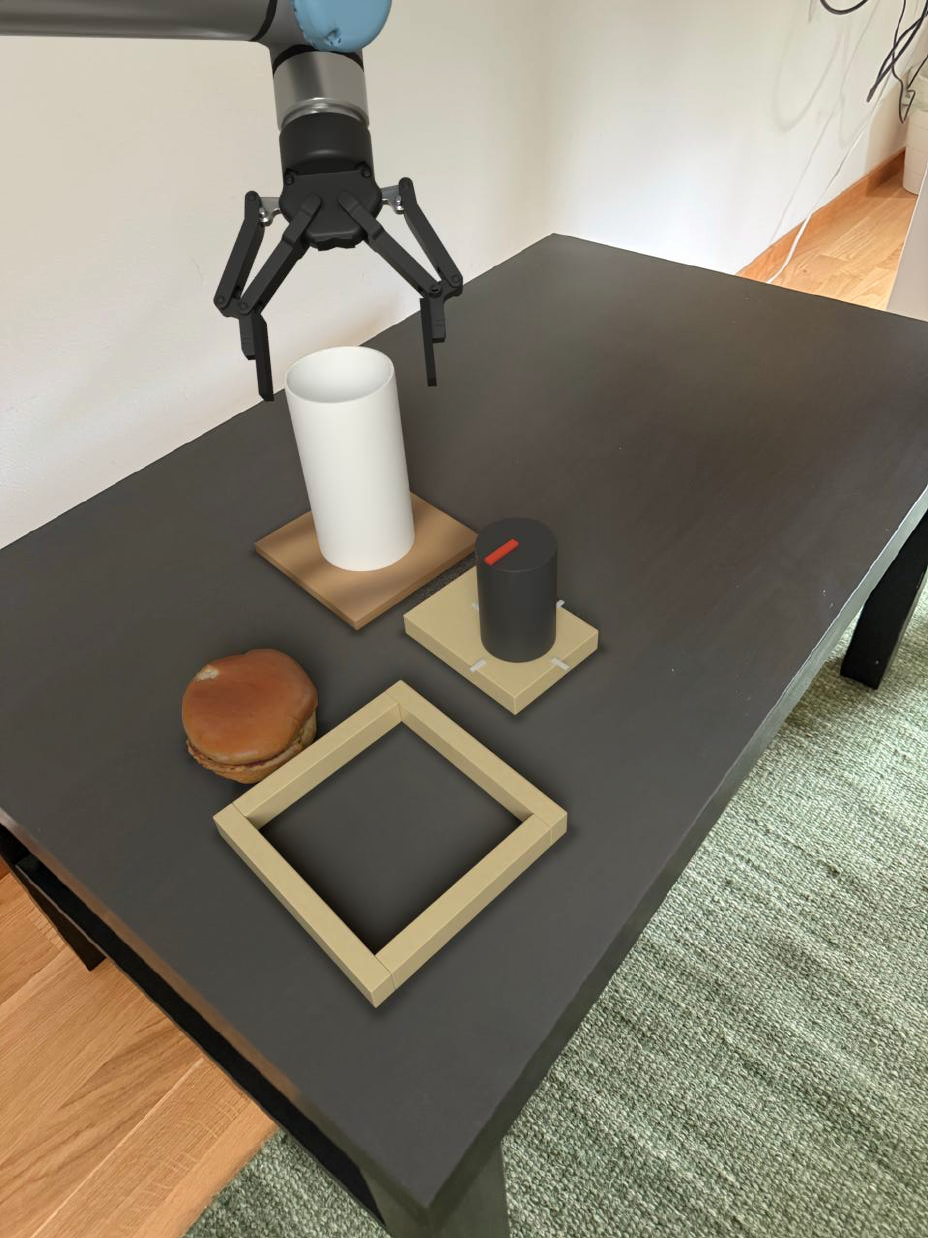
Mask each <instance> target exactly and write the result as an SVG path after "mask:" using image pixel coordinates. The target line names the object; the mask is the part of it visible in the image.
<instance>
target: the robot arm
mask: <svg viewBox="0 0 928 1238" xmlns="http://www.w3.org/2000/svg"><path fill="white" fill-rule="evenodd" d="M392 5H393V0H0V37H31V38H32V37H33V38H34V37H36V38H39V37H40V38H79V39H81V38H85V39H128V40H131V39H133V40H135V39H136V40H137V39H138V40H177V41H178V40H181V41H182V40H185V41H225V42H226V41H227V42H228V41H229V42H230V41H232V42H237V41H238V42H248V43H258V44H260V45H262V46H264V47H266V48H267V49H268V51H269V60H270V65H271V74H272V85H273V94H274V95H273V97H274V105H275V116H276V125H277V129H278V131H279V132H280V133H279V136H278V145H279V146H278V147H279V155H280V164H281V165H280V166H281V176H282V190H281V192H280V195H279V196H260V194H259V192H257V191H256V190H249V191H247V192H246V193H245V195H244V207H243V209H244V211H243V213H244V214H243V215H244V216H243V220H242V223H241V226H240V228H239V231H238V232H237V236H236V238H235V241H234V244H233V247H232V249H231V252H230V254H229V257H228V260H227V261H226V265H225V267H224V270H223V272H222V275H221V277H220V280H219V283H218V285H217V288H216V291H215V293H214V295H213V299H212V302H213V304H214V306H215V307H216V309H217V310H218V312H219V313H220V314H221V315H222V317H224V318H227V319H228V318H233V319H236V320H238V328H239V338H240V350H241V352H242V353H243V356H244V357H245V358H246V359H247V361H255V369H256V381H257V391H258V396H260V398H261V399H262V400H263V401H264V402H265V403H270V402H275V392H274V381H273V372H272V363H271V353H270V341H269V330H268V323H267V321H266V320H265V318H264V316H263V315H262V314H263V313H262V312H263V311H264V310H265V308H266V307H267V305H269V303H270V302H271V300H272V298H273V297H274V295H275V294H276V293H277V291H278V290H279V288H280V287H281V286H282V284H283V282H284V281H285V280H286V278H287V277H288V275H289V274H290V273H291V271H292V270H293V268H294V267H295V265H296V264H297V262H299V260H301V259H303V257H304V256H305V255H306V253H307V252H308V250H309V249H310V248H312V249H315V250H317V251H318V252H327V251H330V250H333V249H336V248H338V249H345V250H350V249H351V250H352V249H356V246H358V245H360V244H361V243H362V242H364V243H365V244H366V245H367V246H368V247H369V248H370V249H371V250H372V251H373V252H374V253H375V254H378V255H379V256H380V257H381V259H383V260H384V261H385V262H386V263H387V264H388V265H389V266H390V267H391V268H392V269H393V270H394V271H395V272H396V273H397V274H398V275H399V276H400V277H401V278H403V280H405V282H406V283H408V285H410V286H411V288H412V289H414V290H415V291H416V292H417V293H418V295H420V296H421V297H419V300H418V301H419V307H420V308H419V309H420V321H421V329H422V332H421V333H422V340H423V341H422V342H423V351H424V363H425V373H426V383H427V387H428V388H430V387H437V386H438V383H437V372H436V371H437V370H436V360H435V351H434V344H443V343H445V341H446V338H447V327H446V318H445V317H446V316H445V306H444V305H445V303H446V302H447V301H448V300H449V299H452V298H455V297H461V295H462V294H463V292H464V276H463V274H462V273H461V271H460V269H459V268H458V266H457V264H456V263H455V261H454V260H453V258H452V256H451V255H450V253H449V251H448V250H447V248H446V247H445V245H444V243H443V242H442V241H441V239H440V237H439V235H438V234H437V231H435V229H434V227H433V226H432V224H431V222H430V221H429V219H428V218H427V215H425V213H424V211H423V210H422V208H421V207H420V205H419V204H418V200H417V195H416V191H415V186H414V182H413V180H412V179H411V178H410V177H408V176H403V177H401V178H400V179H399V181H398V183H397V184H395V185H390V186H386V187H381V186H379V184H378V182H377V181H376V173H375V165H374V164H375V163H374V154H373V144H372V143H373V142H372V134H371V131H370V130H369V127H370V112H369V101H368V92H367V80H366V74H365V66H364V54H363V49H364V48H366V47H367V46H369V45H370V44H371V43H373V41H375V40H376V39H377V37H378V36H379V35H380V34H381V33H382V30H383V29H384V27H385V26H386V23H387V21H388V18H389V16H390V12H391V9H392ZM384 206H389V207H390V208H391V209H392V211H393V213H394V214H396V215H400V216H401V215H403V218H404V222H405V223H406V225H407V227H408V229H409V231H410V232H411V234H412V235H413V237H414V239H415V240H416V242H417V244H418V245H419V246H420V248H421V250H422V252H423V253H424V255H425V256H426V258H427V259H428V261H429V263H430V264H431V266H432V267H433V270H434V271H435V272H436V275H438V277H439V279H440V280H437V279H435V277H434V276H433V275H432V274H430V272H428V271H427V269H426V268H424V267H423V266H422V264H421V263H419V261H417V260H416V258H414V256H413V255H412V254H410V252H409V251H407V250H406V249H405V248H404V247H403V246H402V245H401V243H399V242H398V241H397V240H396V239H395V238H394V237H392V235H391V234H390V233H389V232H388V231H387V230H386V229H385V228H384V226H383V225H382V223H381V222H380V221H378V219H377V218H378V217H379V215H380V213H381V211H382V209H383V207H384ZM278 215H281V216H282V217H283V218H284V220H285V221H286V222H287V224H288V225H287V226H286V228H285V229H284V231H283V233H282V235H281V238H280V240H279V242H278V243H277V245H276V247H275V248H274V249H273V251H272V252H271V253H270V255H269V256H268V258H267V260H266V261H265V262H264V264H263V265H262V267H261V268H260V269H259V270H258V272H257V273H256V275H255V276H254V278H253V279H252V281H251V282H250V284H249V285H248V287H246V285H247V282H248V279H249V277H250V274H251V272H252V269H253V267H254V264H255V261H256V259H257V256H258V254H259V250H260V249H261V245H262V243H263V240H264V237H265V232H266V228H267V227H268V228H269V227H270V226H271V225H272V224H273V223H274V219H275V217H276V216H278ZM245 287H246V289H245ZM244 290H245V291H244Z"/></svg>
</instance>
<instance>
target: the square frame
mask: <svg viewBox="0 0 928 1238" xmlns="http://www.w3.org/2000/svg"><path fill="white" fill-rule="evenodd" d="M400 723H403V724H404V725H405V726H407V727H408V728H409V729H410V730H412V731H413V732H414V733H415V734H417V736H419V737H420V738H421V739H422V740H424V741H425V742H426V743H427V744H429V745H430V747H432V748H433V749H435V751H437V752H438V753H439V754H440V755H442V757H444V758H445V759H446V760H448V761H449V762H450V763H451V764H452V765H453V766H455V767H456V768H457V769H458V770H460V771H461V772H462V773H463V774H465V776H466V777H468V779H470V780H472V781H473V782H474V783H475V784H476V785H477V786H479V787H480V788H481V789H482V790H483V791H485V792H486V793H487V794H488V795H489V796H491V798H493V799H495V801H496V802H498V803H499V804H500V805H502V807H504V808H505V809H506V810H508V811H509V812H510V813H511V814H512V815H513V816H514V817H516V818H517V819H518V820H519V821H521V822H522V823H520V825H519V826H518V827H517V828H516V829H515V830H513V831H512V832H511V833H510V834H509V835H508V836H507V837H506V838H505V839H503V840H502V841H501V842H500V843H499V844H497V845H496V846H495V847H494V848H493V849H492V850H491V851H490V852H489V853H488V854H486V855H485V856H484V857H483V858H482V859H481V860H480V861H478V863H476V864H475V865H474V866H473V867H472V868H471V869H470V870H469V871H467V873H465V874H464V875H463V876H462V877H460V879H458V880H457V881H456V882H455V883H454V884H452V886H451V887H449V888H448V889H447V890H446V891H445V892H444V893H443V894H441V896H440V897H438V898H437V899H436V900H435V901H434V902H432V904H430V906H428V907H427V908H426V909H424V911H423V912H421V914H419V915H418V916H417V917H416V918H414V920H413V921H412V922H410V923H409V924H408V925H407V926H405V927H404V929H402V930H401V931H400V932H399V933H398V934H396V936H395V937H393V938H392V939H391V940H390V941H389V942H388V943H387V944H386V945H385V946H383V947H382V948H381V949H380V950H378V952H377V953H376V954H374V953H373V952H372V951H371V950H370V949H369V948H368V947H367V946H366V945H365V944H364V942H362V940H360V938H359V937H358V936H357V935H356V934H355V933H354V932H353V931H352V930H351V929H350V928H349V926H347V924H346V923H345V922H344V921H343V920H342V919H341V918H340V917H339V915H337V913H336V912H335V911H333V909H332V908H331V907H330V906H329V905H328V904H327V903H326V902H325V901H324V900H323V899H322V898H321V896H319V894H317V892H316V891H315V890H314V889H313V888H312V887H311V886H310V884H308V882H306V880H305V879H303V877H302V876H301V875H300V874H299V873H298V872H297V871H296V870H295V869H294V868H293V866H291V864H290V863H289V862H288V861H287V860H286V858H284V857H283V856H282V854H281V853H279V851H278V850H277V849H276V848H275V847H274V846H273V845H272V844H271V843H270V842H269V841H268V840H267V839H266V838H265V837H264V836H263V834H261V833H260V831H259V830H260V829H261V828H262V827H264V826H265V825H266V824H268V823H269V822H271V821H272V820H273V819H274V818H276V817H277V816H279V815H280V814H281V813H283V812H284V811H285V810H286V809H288V808H289V807H290V806H291V805H294V803H296V802H297V801H298V800H299V799H301V798H302V797H303V796H305V795H306V794H308V793H309V792H310V791H311V790H313V789H314V788H315V787H317V786H318V785H320V784H322V782H323V781H325V780H326V779H327V778H329V777H330V776H332V775H333V774H334V773H335V772H336V771H338V770H339V769H341V768H342V767H344V766H345V765H346V764H347V763H348V762H350V761H351V760H352V759H354V758H355V757H357V756H358V755H359V754H360V753H363V751H364V750H366V749H367V748H368V747H369V746H371V745H372V744H374V743H376V741H378V740H380V738H382V737H383V736H384V735H386V734H387V733H388V732H390V731H391V730H392V729H394V728H395V727H397V726H398V725H399V724H400ZM212 819H213V822H214V824H215V825H216V828H217V830H218V833H219V835H220V836H221V837H222V838H223V839H224V841H225V842H226V843H227V844H228V845H229V846H230V847H231V848H232V850H233V851H234V852H235V853H236V854H237V855H238V856H239V857H240V858H241V859H242V861H243V863H245V864H246V865H247V866H248V867H249V869H250V870H251V871H252V872H253V873H254V874H255V876H256V877H258V879H259V880H260V881H261V882H262V883H263V884H264V885H265V887H266V888H267V889H268V890H269V891H270V892H271V893H272V894H273V895H274V897H275V898H276V899H277V900H278V901H279V902H280V904H282V906H283V907H284V908H285V909H286V910H287V911H288V912H289V913H290V915H292V917H293V918H294V919H295V920H296V921H297V922H298V924H300V926H301V927H302V928H303V929H304V930H305V931H306V932H307V934H309V936H310V937H311V938H312V939H313V940H314V941H315V942H316V943H317V944H318V946H319V947H320V948H321V949H322V950H323V952H324V953H325V954H327V956H328V957H329V958H330V959H331V961H332V962H333V963H334V964H335V965H336V966H337V967H338V968H339V969H340V970H341V971H342V972H343V973H344V975H345V976H346V977H347V978H348V979H349V981H351V983H352V984H353V985H354V986H355V987H356V988H357V989H358V990H359V992H361V994H362V995H363V996H364V997H365V998H366V999H367V1001H369V1003H370V1004H371V1005H372V1006H373V1007H374V1008H378V1007H379V1006H380V1005H381V1004H382V1003H384V1001H385V1000H386V999H388V997H390V996H391V994H393V993H394V992H395V991H396V990H398V989H399V988H400V987H401V985H403V984H404V983H405V982H406V981H407V980H409V978H411V976H412V975H414V974H415V973H416V972H417V971H418V970H419V969H420V968H421V967H422V966H423V965H424V964H426V963H427V961H429V960H430V959H431V958H432V957H433V956H434V955H435V954H437V953H438V951H440V950H441V949H442V948H443V947H444V946H445V945H446V944H447V943H448V942H449V941H450V940H451V939H452V938H454V936H456V935H457V934H458V933H459V932H460V931H461V930H462V929H463V928H464V927H465V926H466V925H468V923H470V922H471V921H472V920H473V919H474V918H475V917H476V916H477V915H478V914H480V913H481V911H483V910H484V909H485V908H486V907H487V906H488V905H489V904H490V903H491V902H492V901H494V900H495V899H496V898H497V897H498V896H499V895H500V894H501V893H503V891H504V890H506V888H507V887H509V885H511V884H512V883H513V882H514V881H515V880H516V879H518V877H519V876H520V875H522V873H524V872H525V871H526V870H527V869H528V868H529V867H530V866H532V864H534V862H535V861H536V860H538V859H539V858H540V857H541V856H542V855H543V854H544V853H545V852H546V851H548V849H550V847H551V846H553V845H554V844H556V842H557V841H558V840H559V839H560V838H561V837H563V836H564V835H565V833H567V832H568V830H567V829H568V812H567V811H566V810H565V809H564V808H563V807H561V806H560V805H559V804H557V803H556V802H554V800H552V799H551V798H550V797H548V796H547V795H546V794H545V793H544V792H542V791H541V790H539V788H537V787H536V786H535V785H534V784H532V783H531V782H530V781H528V780H527V779H526V778H525V777H523V776H522V775H521V774H520V773H519V772H517V771H516V770H514V768H512V767H511V766H510V765H508V764H507V763H506V762H505V761H503V760H502V759H501V758H500V757H499V756H497V755H496V754H495V753H494V752H492V751H491V750H489V749H488V748H487V747H486V746H485V745H483V744H482V743H481V742H480V741H479V740H478V739H476V738H475V737H473V736H472V735H471V734H469V733H468V732H467V731H466V730H464V729H463V728H462V727H461V726H460V725H459V724H457V723H456V722H455V721H453V720H452V719H451V718H450V717H448V716H447V715H445V713H443V712H442V711H441V710H440V709H438V708H437V707H436V706H435V705H434V704H432V703H431V702H430V701H428V700H427V699H426V698H424V697H423V696H422V695H421V694H419V692H417V691H416V690H415V689H413V688H412V687H411V686H410V685H408V684H407V683H406V682H405V681H403V680H402V679H400V680H398V681H397V682H395V683H394V684H393V685H392V686H390V687H388V688H387V689H386V690H385V691H383V692H381V693H380V694H379V695H378V696H376V697H375V698H374V699H372V700H371V701H370V702H368V703H367V704H365V705H364V706H363V707H362V708H360V709H358V710H357V711H356V712H355V713H353V714H351V715H350V716H349V717H347V718H346V719H345V720H343V721H342V722H341V723H339V724H338V725H337V726H335V727H334V728H332V729H331V730H330V731H329V732H327V733H326V734H324V735H322V737H320V738H319V739H317V740H316V741H315V742H312V744H311V745H310V746H309V747H308V748H306V749H305V750H304V751H302V752H301V753H300V754H298V755H297V756H295V757H294V758H293V759H291V760H290V761H289V762H287V763H286V764H284V765H283V766H282V767H280V768H279V769H278V770H276V771H275V772H273V773H272V774H271V775H269V776H268V777H267V778H265V779H264V780H262V781H259V782H257V784H255V785H254V786H253V787H251V788H250V789H249V790H247V791H246V792H245V793H243V794H242V795H240V796H239V797H238V798H236V799H235V800H234V801H232V803H229V804H228V805H226V807H224V808H222V809H221V810H220V811H218V812H217V813H216V814H214V815H213V816H212Z"/></svg>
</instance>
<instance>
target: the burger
mask: <svg viewBox="0 0 928 1238" xmlns="http://www.w3.org/2000/svg"><path fill="white" fill-rule="evenodd" d="M318 704H319V697H318V690H317V688H316V686H315V684H314V683H313V680H311V678H310V676H309V675H308V674H307V672H306V671H305V670H304V668H303V667H302V666H301V665H300V664H299V663H298V662H297V661H296V659H293V658H292V657H291V656H290V655H288V654H286V653H284V652H282V651H279V650H276V649H273V648H257V649H251V650H248V651H247V652H246V653H242V654H241V653H240V654H233V655H232V654H231V655H228V656H225V657H220V658H217V659H215V660H212V661H211V662H209V663H207V664H206V665H205V666H203V667H202V668H201V670H200V671H199V672H197V673H196V674H195V676H194V677H193V678H192V679H191V681H189V683H188V685H187V687H186V690H185V691H184V694H183V696H182V701H181V721H182V726H183V729H184V732H185V734H186V736H187V739H186V742H185V743H186V745H187V752H188V753H189V754H190V755H191V756H192V757H193V758H194V759H195V760H196V761H197V764H201V765H202V767H203V768H206V769H207V770H210V771H212V772H213V773H214V774H215V775H218V776H221V777H223V778H225V779H228V780H234V781H237V782H238V783H240V784H255V783H260V782H261V781H262V780H264V779H265V778H267V777H268V776H269V775H271V774H272V773H273V772H275V771H276V770H278V769H279V768H280V767H282V766H283V765H284V764H286V763H287V762H289V761H290V760H291V759H293V758H294V757H295V756H297V755H298V754H300V753H301V752H302V751H304V750H305V749H306V748H308V747H309V746H311V745H312V744H313V743H314V740H315V738H316V735H317V710H316V708H318V707H317V706H318Z"/></svg>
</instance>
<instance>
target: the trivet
mask: <svg viewBox="0 0 928 1238" xmlns="http://www.w3.org/2000/svg"><path fill="white" fill-rule="evenodd" d="M410 498H411V506H412V514H413V522H414V530H415V540H414V544H413V546H412V548H411V549H410V551H409V552H408V553H407V554H406V555H405V556H404V557H403V558H402V559H400V560H399V561H397V562H395V563H394V564H392V565H389V566H387V567H384V568H381V569H377V570H372V571H350V570H345V569H342V568H339V567H336V566H334V565H333V564H331V563H330V562H328V561H327V560H326V559H325V558H324V556H323V555H322V553H321V550H320V546H319V542H318V537H317V533H316V528H315V524H314V519H313V515H312V510H311V509H310V510H309V511H307V512H305V513H303V514H302V515H300V516H299V517H297V518H295V519H294V520H292V521H290V522H288V523H286V524H285V525H283V526H281V527H280V528H279V529H277V530H274V531H273V532H271V533H270V534H268V535H266V536H264V537H263V538H261V539H259V540H258V541H256V542H254V549H255V551H256V553H257V554H259V555H260V556H261V557H263V558H264V559H265V560H266V561H267V562H269V563H270V564H271V565H273V566H274V567H275V568H277V569H278V570H279V571H280V572H281V573H283V574H284V575H286V576H287V577H288V578H289V579H291V580H292V582H294V583H296V584H297V585H298V586H299V587H300V588H302V589H303V590H304V591H306V592H307V593H308V594H309V595H311V596H312V597H313V598H315V599H316V600H317V601H318V602H320V603H321V604H322V605H324V607H326V608H327V609H328V610H329V611H332V613H334V615H336V616H337V617H339V618H340V619H341V620H342V621H344V622H345V623H346V624H348V625H349V626H350V627H352V628H353V629H354V630H356V631H359V630H360V629H361V628H363V627H364V626H366V625H368V624H369V623H370V622H372V621H373V620H375V619H376V618H378V617H380V615H383V614H384V613H385V612H387V611H388V610H390V609H391V608H393V607H394V606H396V605H397V604H398V603H400V602H401V601H403V600H404V599H406V598H407V597H409V596H410V595H412V594H413V593H415V592H416V591H417V590H419V589H421V588H423V586H425V585H426V584H428V583H430V582H431V581H432V580H435V579H436V578H437V577H439V576H440V575H441V574H443V573H444V572H445V571H447V570H449V569H450V568H452V567H454V566H455V565H457V563H459V562H461V561H462V560H463V559H465V558H466V557H468V556H469V555H471V554H473V553H475V541H476V538H477V536H478V534H479V533H477V532H476V531H474V530H472V529H471V528H469V527H468V526H466V525H465V524H464V523H461V522H460V521H458V520H456V519H455V518H453V517H452V516H450V515H449V514H447V513H445V512H444V511H442V510H441V509H439V508H437V507H436V506H434V505H432V504H431V503H429V502H427V501H426V500H425V499H423V498H421V497H419V496H418V495H417V494H415V493H413V492H412V491H410Z"/></svg>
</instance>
